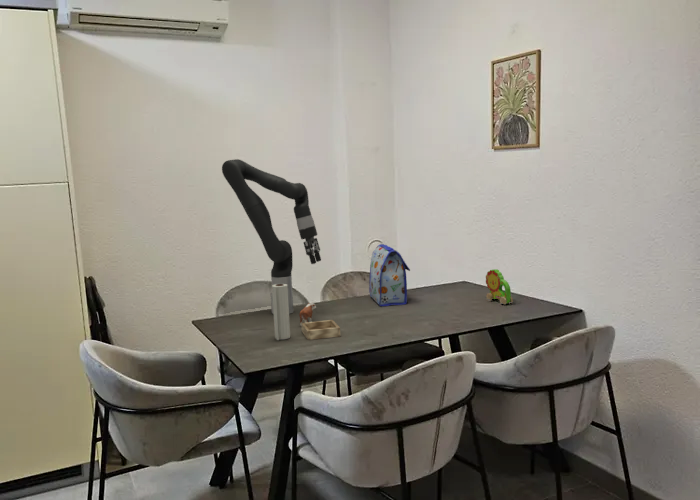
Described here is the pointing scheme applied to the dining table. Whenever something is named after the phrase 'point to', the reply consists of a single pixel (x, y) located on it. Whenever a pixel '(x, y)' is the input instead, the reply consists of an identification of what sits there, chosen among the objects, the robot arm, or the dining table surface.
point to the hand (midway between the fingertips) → (316, 262)
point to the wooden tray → (320, 329)
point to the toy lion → (498, 287)
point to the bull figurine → (307, 313)
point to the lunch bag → (388, 277)
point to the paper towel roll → (281, 311)
